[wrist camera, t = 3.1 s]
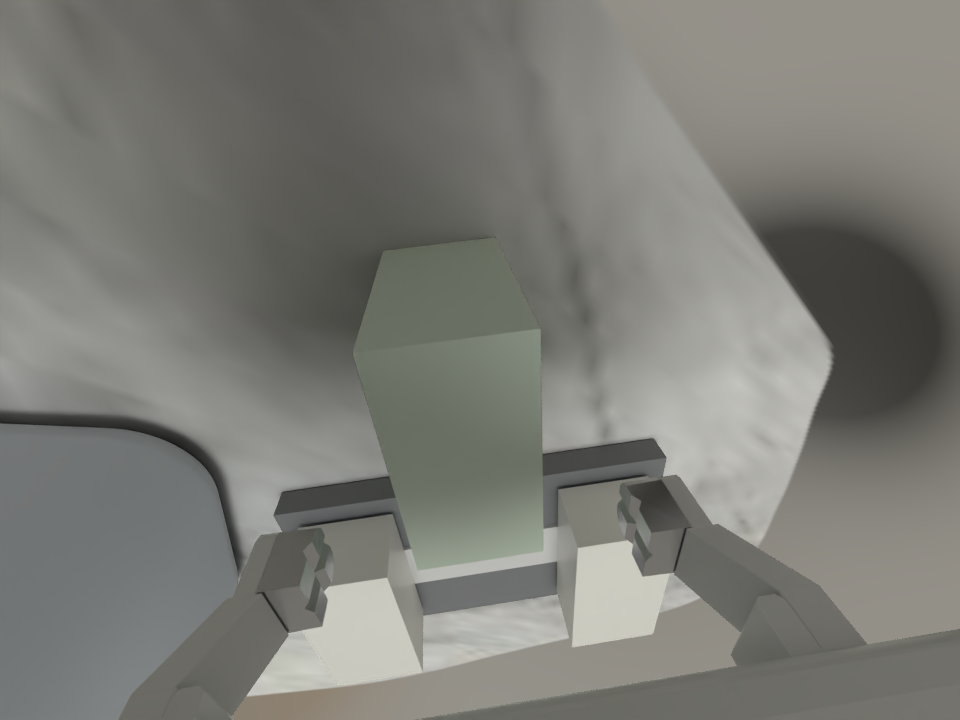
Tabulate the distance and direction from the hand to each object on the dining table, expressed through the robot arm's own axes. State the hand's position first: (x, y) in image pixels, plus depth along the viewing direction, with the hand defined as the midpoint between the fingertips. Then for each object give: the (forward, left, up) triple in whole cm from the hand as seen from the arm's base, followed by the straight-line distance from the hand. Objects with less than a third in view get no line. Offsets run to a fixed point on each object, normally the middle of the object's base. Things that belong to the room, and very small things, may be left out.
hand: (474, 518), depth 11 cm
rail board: (+14, 0, -9) cm, 16 cm away
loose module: (0, 0, -9) cm, 9 cm away
